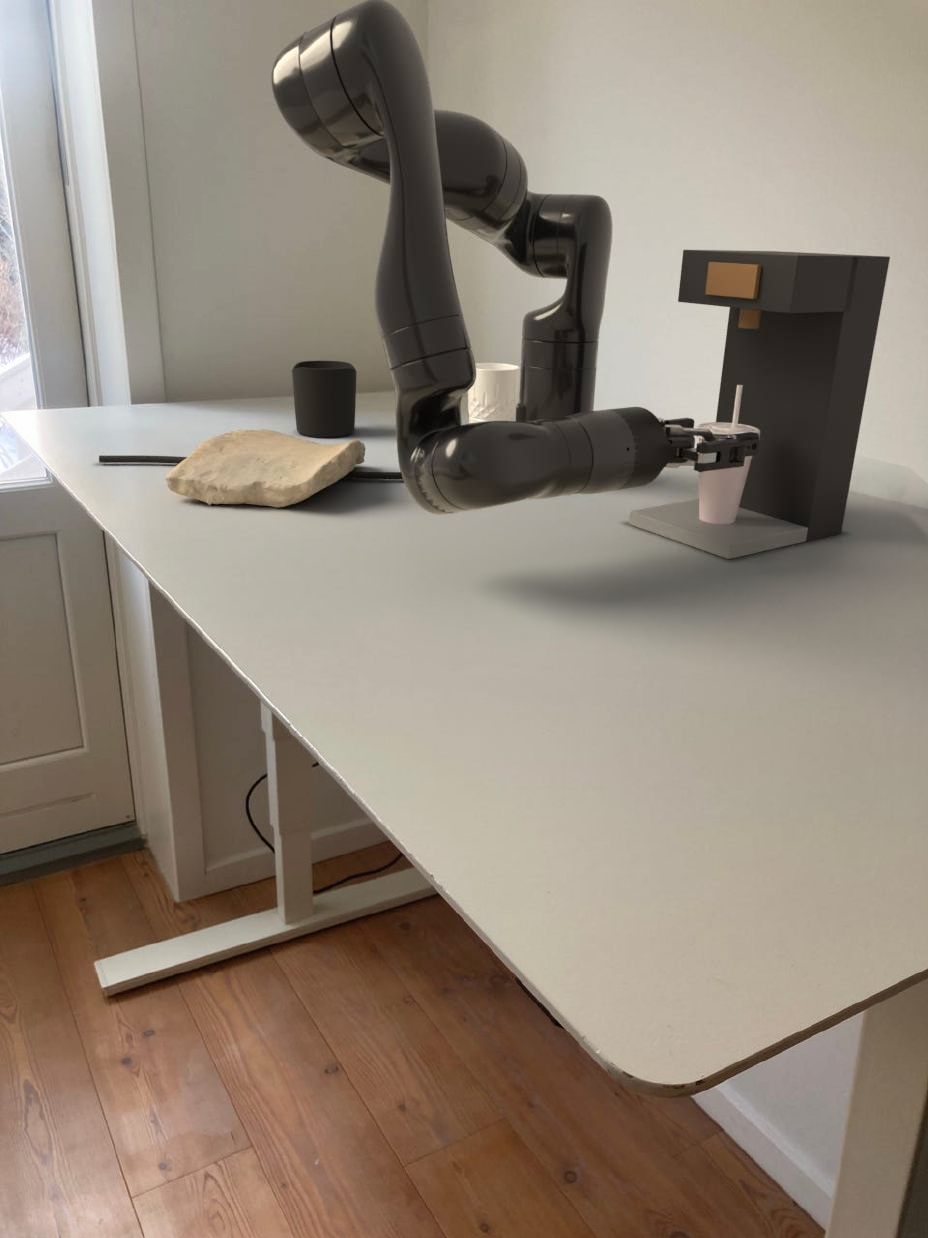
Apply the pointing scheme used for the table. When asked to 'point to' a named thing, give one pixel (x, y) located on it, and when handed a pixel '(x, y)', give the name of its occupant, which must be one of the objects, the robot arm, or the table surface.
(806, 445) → the coffee maker
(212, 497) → the beige stone slab
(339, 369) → the pen holder
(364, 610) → the table surface
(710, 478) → the smoothie
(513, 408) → the white cup
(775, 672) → the table surface
